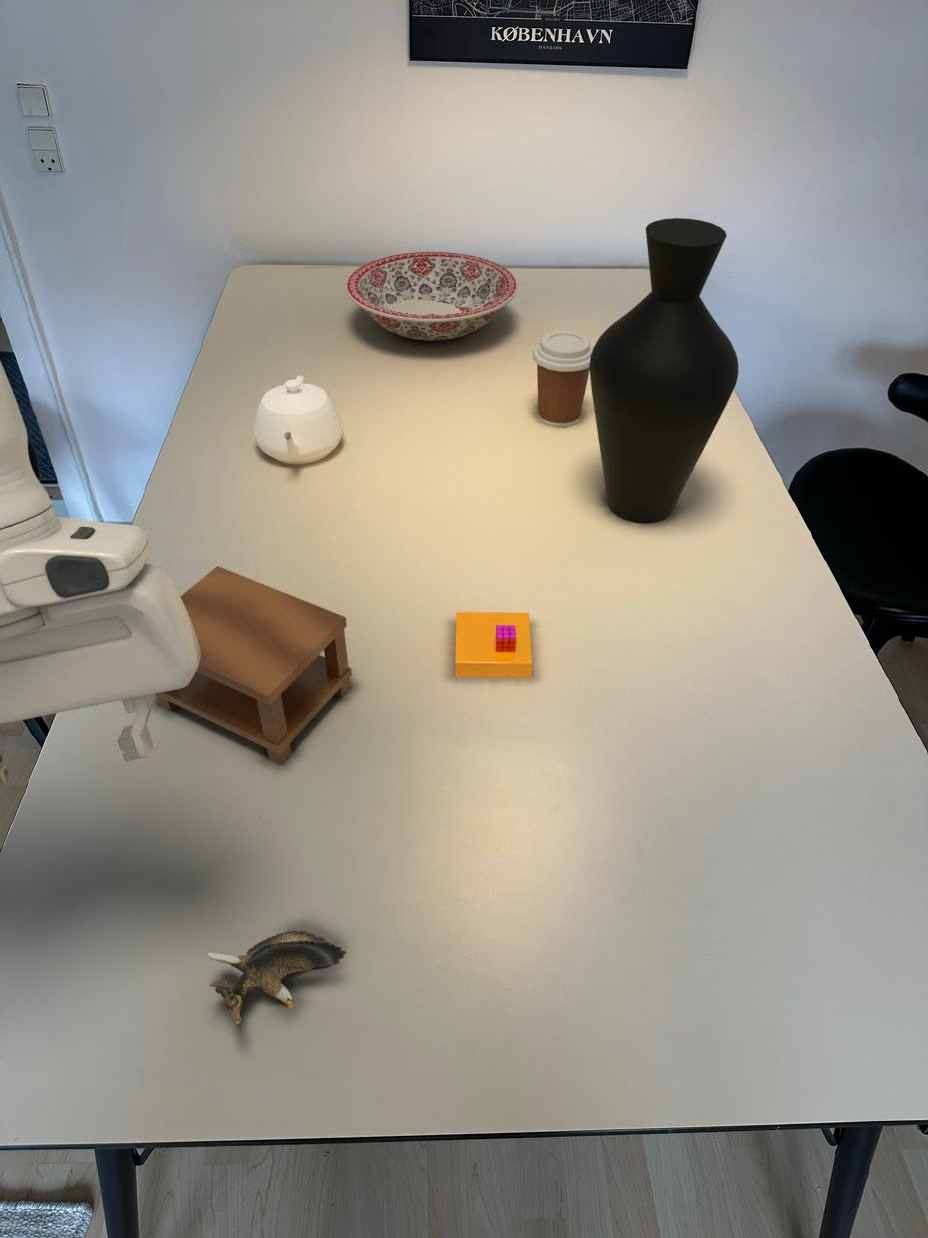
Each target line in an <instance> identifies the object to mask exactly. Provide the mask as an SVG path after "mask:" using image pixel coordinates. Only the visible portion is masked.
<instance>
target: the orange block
mask: <svg viewBox="0 0 928 1238" xmlns="http://www.w3.org/2000/svg"><path fill="white" fill-rule="evenodd" d="M455 615H456V616H455V651H454V652H455V655H454V656H455V657H454V659H455V661H454V676H455V677H456V678H522V679H523V678H525V679H526V678H532V671H533V655H532V654H533V653H532V640H531V639H532V638H531V625H530V613H529V612H504V611H503V612H501V611H500V612H498V611H497V612H495V611H494V612H492V611H490V612H489V611H456V613H455Z"/></svg>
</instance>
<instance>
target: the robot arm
mask: <svg viewBox="0 0 928 1238" xmlns="http://www.w3.org/2000/svg"><path fill="white" fill-rule="evenodd" d="M21 413H22V412H21V411H20V407H19V404H18V401H17V399H16V397H15V394H14V390H13V389H12V386H11V384H10V381H9V379H8V376H7V374H6V371H5V369H4V366H3V364H2V362H1V361H0V725H3V724H9V723H13V722H19V721H24V720H29V719H33V718H39V717H44V716H48V715H49V716H50V715H54V714H58V713H64V712H69V711H74V710H79V709H84V708H89V707H94V706H100V705H104V704H109V703H115V702H119V701H122V704H123V708H124V710H125V713H127V714H134V713H135V716H134V720H133V724H132V725H128V726H123V728H122V730H121V734H120V735H119V736H118V738H117V743H118V747H119V749H120V750H121V751H123V753H122V757H123V760H124V761H125V762H129V761H136V760H140V759H145V758H150V757H151V754H152V751H153V748H154V747H153V746H154V745H153V740H152V737H151V734H150V731H149V727H148V726H147V724H148V722H149V718H150V715H151V712H152V708H153V705H154V701H155V698H156V695H155V693H160V692H165V691H170V690H176V689H180V688H184V687H186V686H187V685H188V684H189V683H190V681H191V679H192V678H193V676H194V674H195V672H196V670H197V668H198V666H199V663H200V658H201V651H200V646H199V642H198V639H197V636H196V633H195V630H194V628H193V625H192V622H191V620H190V617H189V615H188V613H187V610H186V608H185V606H184V603H183V601H182V599H181V597H180V596H181V595H180V592H179V591H178V589H177V587H176V585H175V584H174V582H173V580H172V579H171V578H170V577H169V576H168V575H167V574H166V572H164V571H163V570H162V569H161V568H160V567H159V568H158V567H157V566H156V565H152V564H151V563H150V564H149V563H148V559H149V557H150V554H151V544H150V543H151V542H150V539H149V536H148V534H147V532H146V530H145V529H143V528H142V527H140V526H137V525H132V524H124V523H113V522H103V521H93V520H86V519H79V518H72V517H71V518H70V517H65V516H57V514H56V511H55V507H54V504H53V502H52V499H51V497H50V495H49V493H48V492H47V490H46V488H45V487H44V486H43V485H42V484H41V482H40V480H39V479H38V477H37V476H36V474H35V471H34V470H33V467H32V464H31V460H30V455H29V448H28V447H29V441H28V430H27V427H26V424H25V421H24V418H23V416H22V414H21ZM8 777H9V772H8V768H7V766H6V765H5V764H4V758H3V756H2V753H1V752H0V788H1V787H3V785H4V782H6V781H7V780H8Z"/></svg>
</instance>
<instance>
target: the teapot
mask: <svg viewBox="0 0 928 1238" xmlns="http://www.w3.org/2000/svg"><path fill="white" fill-rule="evenodd" d="M252 430H253V432H252V433H253V438H254V441H255V443H256V445H257V446H258V448H259V449H260V450H261V451H262V452H263V453H265V454H266V455H268V456H269V457H271V458H273V459H274V460H276V461H278V462H280V463H283V464H288V465H308V464H311V463H315V462H318V461H320V460H323V459H324V458H326V457H327V456H328V455H330V454H331V452H332V451H334V449H336V447H337V446H339V444H340V442H341V440H342V436H343V432H344V427H343V423H342V419H341V417H340V414H339V412H338V410H337V408H336V405H335V404H334V401H333V400H332V398H331V397H330V396H329V394H328V393H327V392H326V390H324V388H322V387H320V386H318V385H315V384H312V383H307V382H306V378H305V376H304V375H297V376H296V378H295V379H294V378H293V379H289V380H286V381H285V382H284V384H281V385H277V386H275V387H272V388H271V389H269V390H267V391H266V392H265V393H264V394H263V396H262V398H261V400H260V402H259V403H258V405H257V410H256V413H255V418H254V423H253V429H252Z"/></svg>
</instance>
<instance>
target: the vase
mask: <svg viewBox="0 0 928 1238" xmlns="http://www.w3.org/2000/svg"><path fill="white" fill-rule="evenodd" d="M727 236H728V235H727V233H726V230H724V229H723V227H720V226H718V225H716V224H714V223H712V222H708V221H705V220H701V219H694V218H684V217H683V218H682V217H680V218H679V217H674V218H663V219H658V220H654V221H652V222H650V223H648V224H647V225H646V227H645V237H646V247H647V257H648V266H649V267H648V268H649V277H650V286H651V288H650V289H651V290H650V292H649V293H648V294H647V295H646V296H645V297H644V298H643V299H642V300H641V301H640V302H638V303H637V304H636V305H634V307H633V308H631V309H630V310H629V311H627V313H625V314H624V315H623V316H621V317H620V318H619V319H617V320H615V321H614V322H613V323H612V324H611V325H610V326H608V327H607V328H606V329H605V331H604V332H603V333H602V334H601V335H600V336H599V337H598V339H597V341H596V342H595V344H594V346H593V347H592V348H593V351H592V353H591V358H590V364H589V369H590V370H589V378H590V388H591V395H592V402H593V411H594V416H595V417H594V418H595V423H596V430H597V431H596V432H597V439H598V445H599V452H600V459H601V465H602V466H601V467H602V473H603V478H604V486H605V487H604V488H605V494H606V502H607V507H608V508H609V510H610V512H612V513H613V514H614V515H615V516H616V517H618V518H619V519H622V520H624V521H626V522H631V523H634V524H644V525H645V524H647V525H648V524H649V525H650V524H654V523H655V524H656V523H659V522H662V521H664V520H665V519H667V518H668V517H669V516H670V515H671V514H672V512H673V510H674V508H675V506H676V504H677V502H678V500H679V498H680V496H681V494H682V492H683V490H684V488H685V486H686V485H687V483H688V481H689V479H690V477H691V475H692V474H693V471H694V469H695V468H696V465H697V463H698V461H700V458H701V456H702V454H703V452H704V450H705V448H706V446H707V444H708V442H709V441H710V439H711V437H712V434H713V433H714V430H715V429H716V427H717V425H718V422H719V420H720V419H721V417H722V415H723V414H724V413H723V412H724V411H725V408H726V407H727V405H728V403H729V400H730V399H731V396H732V394H733V392H734V390H735V388H736V385H737V382H738V377H739V371H740V370H739V359H738V356H737V352H736V350H735V347H734V346H733V343H732V342H731V340H730V338H729V337H728V336H727V335H726V333H725V332H724V331H723V329H722V328H721V327H720V325H719V324H718V322H717V321H716V320H715V319H714V317H713V315H712V314H711V312H710V311H709V310H708V308H707V306H706V305H705V302H704V301H703V300H702V298H701V294H702V292H703V289H704V287H705V285H706V283H707V280H708V278H709V276H710V274H711V271H712V269H713V267H714V265H715V263H716V261H717V258H718V256H719V254H720V252H721V249H722V248H723V245H724V243H725V241H726V238H727Z"/></svg>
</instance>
